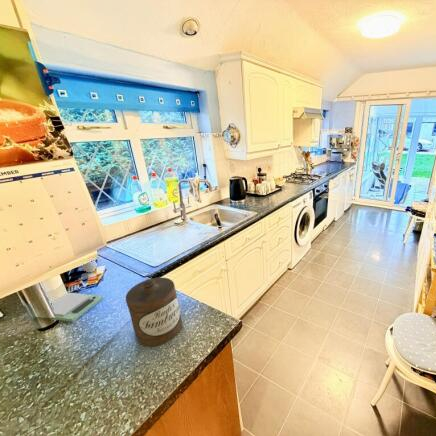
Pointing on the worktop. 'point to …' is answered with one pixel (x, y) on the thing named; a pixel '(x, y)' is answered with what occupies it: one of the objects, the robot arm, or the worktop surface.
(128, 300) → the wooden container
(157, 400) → the worktop surface
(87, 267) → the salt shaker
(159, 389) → the worktop surface
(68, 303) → the kitchen scale
